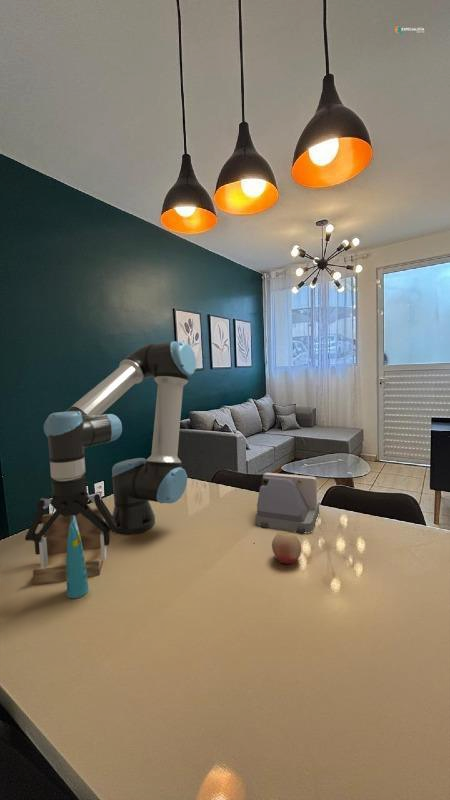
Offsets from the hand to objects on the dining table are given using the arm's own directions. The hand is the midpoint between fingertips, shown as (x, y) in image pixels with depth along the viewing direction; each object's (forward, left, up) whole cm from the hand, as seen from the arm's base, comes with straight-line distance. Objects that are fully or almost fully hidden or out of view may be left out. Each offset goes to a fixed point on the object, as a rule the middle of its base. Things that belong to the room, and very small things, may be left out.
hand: (74, 562), depth 83 cm
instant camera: (-65, -24, -8) cm, 69 cm away
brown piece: (+4, -12, -8) cm, 15 cm away
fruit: (-54, +1, -8) cm, 55 cm away
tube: (0, 0, -8) cm, 8 cm away
